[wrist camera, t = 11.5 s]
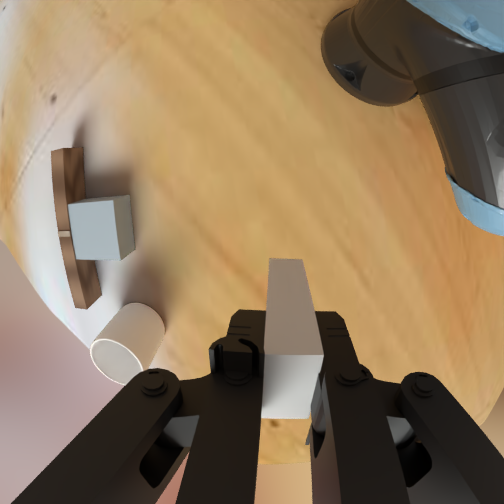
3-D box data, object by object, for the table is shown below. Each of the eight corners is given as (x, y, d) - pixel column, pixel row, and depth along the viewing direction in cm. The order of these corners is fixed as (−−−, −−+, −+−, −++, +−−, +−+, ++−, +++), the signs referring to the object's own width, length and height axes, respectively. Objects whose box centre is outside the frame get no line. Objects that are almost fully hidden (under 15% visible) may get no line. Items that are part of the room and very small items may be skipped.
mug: (104, 329, 44) (75, 365, 34) (135, 290, 41) (103, 327, 31) (140, 360, 45) (118, 400, 35) (176, 326, 42) (155, 370, 32)
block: (87, 198, 36) (67, 204, 32) (130, 194, 36) (113, 200, 31) (93, 248, 39) (76, 259, 34) (136, 248, 39) (120, 260, 34)
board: (71, 150, 34) (50, 151, 29) (83, 147, 34) (62, 148, 29) (90, 293, 41) (74, 308, 37) (101, 295, 41) (86, 309, 37)
